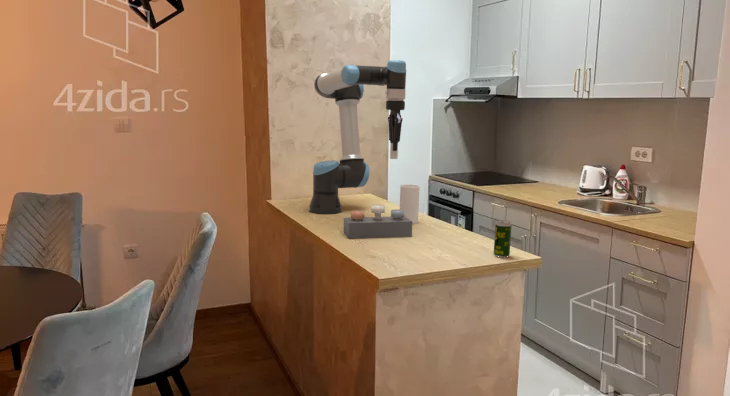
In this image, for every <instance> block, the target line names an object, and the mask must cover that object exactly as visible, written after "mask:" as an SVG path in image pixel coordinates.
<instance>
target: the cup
mask: <svg viewBox="0 0 730 396" xmlns="http://www.w3.org/2000/svg"><path fill="white" fill-rule="evenodd" d="M399 189H400V192H399V210H404V216H405V217H407V218H408V219H410V220H411V221H412V225H414V224H418V223H419V212H420V185H419V184H413V183H403V184H400V187H399Z"/></svg>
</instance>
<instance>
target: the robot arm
mask: <svg viewBox="0 0 730 396" xmlns="http://www.w3.org/2000/svg"><path fill="white" fill-rule="evenodd" d="M406 79H407V63H406V61H404V60H396V59H391V60H388V62H387V64H386V66H376V65H375V66H374V65H373V66H372V65H356V64H346V65H344V66H343V68H342V69H341V70H338V71H334V72H332V73H331V72H330V73H329V72H324V73H321V74H319V75H318V76H317V77H316V78H315V80H314V86H313V87H314V89H315V91H316V93H317V94H318V95H319V96H321V98H324V99H331V100H333V99H334V100H335V104H336V105H337V106H338V113H339V125H340V126H339V127H340V140H341V143H340V144H341V153H342V154H341V156H342V157H340V159H339V161H338V160H324V161H319V162H316V163H315V164H314V165H313V169H312V170H313V171H312V177H313V178H312V181H313V182H312V183H313V184H312V185H313V187H312V189H313V190H312V191H313V192H312V198H311V200H310V202H309V203H310V204H309V207H308V208H309V212H311V213H314V214H319V215H322V214H323V215H328V214H329V215H331V214H339V213H342V208H343V207H342V204H341V200H340V197H339V189H350V188H351V189H352V188H355V189H356V188H362V187H364V186H366V185H367V184H368V182H369V178H370V167H369V164H368V163H367V162H365V158H364V157H363V156H362V155H361V146H360V144H361V143H360V133H359V132H360V130H359V120H358V119H359V118H358V116H359V115H358V104H360V100H361V99H362V98H363V96H364V91H365V89H364V85H367V86H381V87H383V86H386V91H385V94H386V101H385V109H386V111H389V112H390V113H389V115H388V116H387V121H388V122H387V123H388V124H387V125H388V141H389V143H390V144H389V145H390V147H389V148H390V149H389V150H390V151H389V159H390V160H398V154H399V153H398V152H399V151H398V150H399V149H398V148H399V142H400V141H401V135H402V134H401V133H402V126H403V125H402V123H403V117H402V115H401V111H404V110H405V107H406V105H405V104H406V102H405V100H406V82H407V81H406Z"/></svg>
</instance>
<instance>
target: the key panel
mask: <svg viewBox="0 0 730 396" xmlns="http://www.w3.org/2000/svg"><path fill="white" fill-rule="evenodd" d="M343 232H344V233H343V234H344V235H345V237H346V238H347V239H348V240H349V239H354V238H355V239H370V238H371V239H377V238H378V239H379V238H382V239H384V238H398V237H399V238H406V237H407V238H408V237H409V238H410V237H413V224H412V221H411V220H410V219H408V218H407V217H405V216H404V217H403V218H401V220H394V218H393V217H391V216H381V220H375V216H365V217H364V219H361V221H355V219H353V218H351V217H343Z"/></svg>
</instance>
